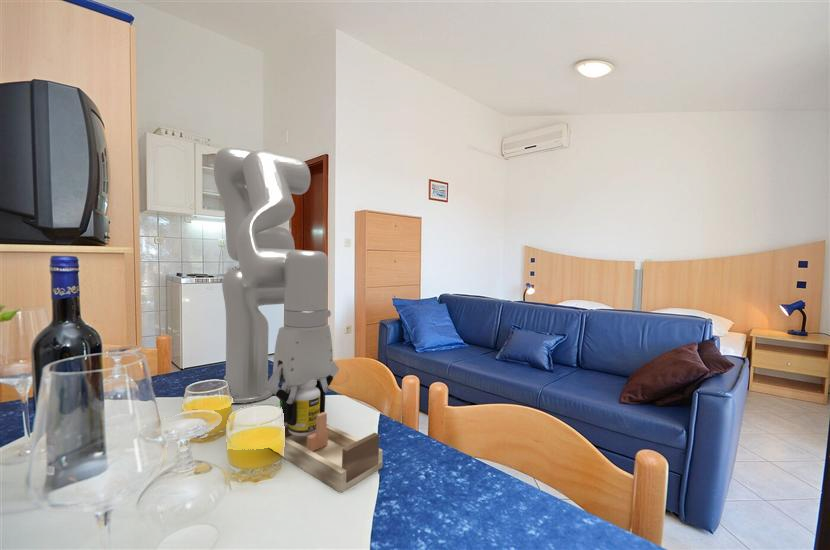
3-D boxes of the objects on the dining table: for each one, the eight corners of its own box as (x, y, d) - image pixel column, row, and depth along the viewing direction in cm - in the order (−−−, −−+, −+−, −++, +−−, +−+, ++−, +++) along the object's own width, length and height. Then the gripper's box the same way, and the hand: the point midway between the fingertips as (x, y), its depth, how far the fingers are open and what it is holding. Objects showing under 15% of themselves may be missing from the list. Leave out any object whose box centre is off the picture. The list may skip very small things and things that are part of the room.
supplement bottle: (310, 439, 65) (311, 383, 65) (282, 435, 66) (283, 380, 66) (324, 425, 70) (325, 374, 70) (298, 422, 71) (298, 371, 71)
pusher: (306, 449, 65) (307, 414, 65) (323, 442, 68) (324, 408, 68) (313, 453, 64) (314, 418, 63) (330, 445, 67) (331, 411, 66)
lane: (267, 447, 68) (267, 415, 67) (308, 430, 75) (309, 401, 75) (340, 492, 55) (341, 453, 55) (382, 467, 63) (383, 432, 62)
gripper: (330, 312, 77) (328, 399, 77) (249, 321, 63) (248, 427, 64) (355, 316, 72) (353, 409, 73) (274, 327, 58) (272, 441, 59)
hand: (304, 416), depth 68 cm, fingers closed on supplement bottle, 5 cm apart
